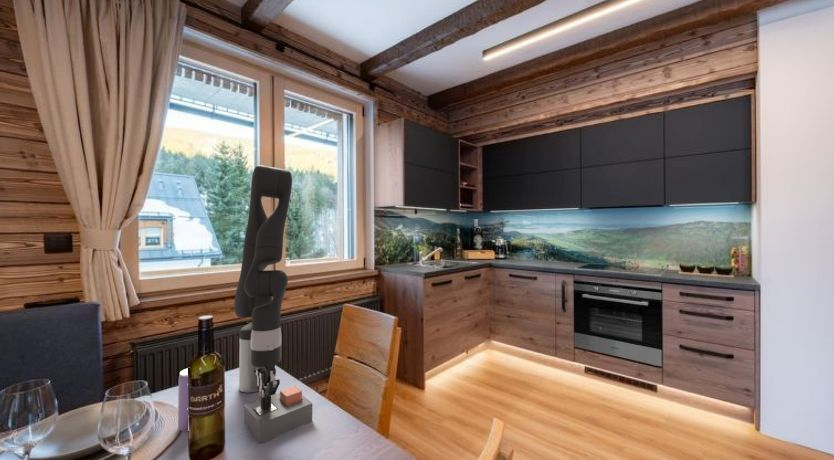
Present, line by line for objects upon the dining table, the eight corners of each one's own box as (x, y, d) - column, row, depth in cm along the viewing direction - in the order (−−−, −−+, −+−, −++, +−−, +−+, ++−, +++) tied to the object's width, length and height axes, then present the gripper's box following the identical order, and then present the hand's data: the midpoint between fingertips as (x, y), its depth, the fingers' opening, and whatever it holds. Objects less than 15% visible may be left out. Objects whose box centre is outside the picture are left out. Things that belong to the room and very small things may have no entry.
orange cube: (279, 406, 93) (280, 390, 93) (295, 400, 96) (295, 385, 96) (286, 412, 90) (286, 396, 90) (301, 406, 93) (301, 390, 93)
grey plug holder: (243, 423, 90) (244, 405, 90) (293, 404, 100) (293, 388, 100) (259, 443, 82) (259, 423, 82) (312, 421, 91) (312, 403, 91)
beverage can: (191, 434, 85) (191, 376, 85) (172, 431, 87) (172, 374, 87) (210, 421, 91) (210, 367, 91) (192, 418, 92) (192, 365, 92)
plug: (253, 425, 88) (253, 408, 88) (270, 418, 91) (270, 402, 91) (259, 432, 85) (259, 415, 85) (276, 425, 88) (276, 408, 88)
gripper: (243, 341, 90) (242, 404, 90) (260, 354, 81) (260, 424, 81) (271, 335, 96) (270, 395, 96) (290, 347, 86) (290, 413, 86)
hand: (265, 408), depth 88 cm, fingers closed
